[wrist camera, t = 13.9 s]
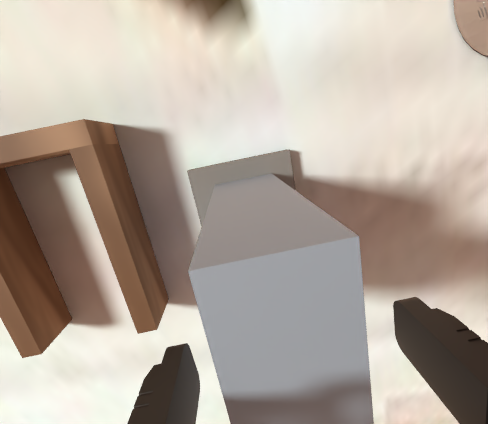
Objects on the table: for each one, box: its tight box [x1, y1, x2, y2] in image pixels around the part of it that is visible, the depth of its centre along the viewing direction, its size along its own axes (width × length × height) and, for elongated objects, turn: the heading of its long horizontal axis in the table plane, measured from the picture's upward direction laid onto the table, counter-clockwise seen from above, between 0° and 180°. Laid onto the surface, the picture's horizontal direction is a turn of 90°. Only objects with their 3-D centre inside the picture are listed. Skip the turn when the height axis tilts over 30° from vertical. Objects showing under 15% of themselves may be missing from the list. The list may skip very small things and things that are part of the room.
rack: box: [0, 119, 169, 358], centre depth 20 cm, size 10×16×4 cm
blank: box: [188, 173, 374, 424], centre depth 15 cm, size 4×9×14 cm, turn 11°
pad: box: [187, 150, 295, 226], centre depth 22 cm, size 8×12×1 cm, turn 11°
